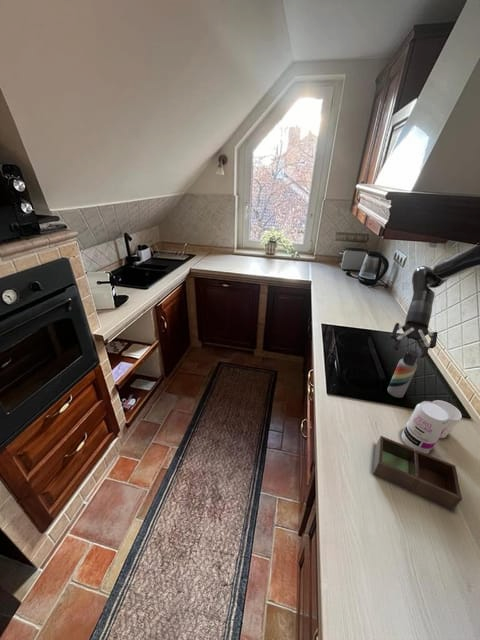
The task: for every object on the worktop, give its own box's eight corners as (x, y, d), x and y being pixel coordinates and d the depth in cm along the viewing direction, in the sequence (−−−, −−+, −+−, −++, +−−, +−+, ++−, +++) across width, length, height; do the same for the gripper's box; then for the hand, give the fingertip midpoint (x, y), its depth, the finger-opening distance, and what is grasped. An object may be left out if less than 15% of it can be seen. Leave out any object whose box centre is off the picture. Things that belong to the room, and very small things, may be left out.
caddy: (446, 477, 71) (455, 465, 69) (451, 511, 64) (462, 499, 61) (375, 447, 79) (380, 435, 76) (372, 474, 72) (378, 462, 69)
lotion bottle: (390, 386, 103) (407, 345, 93) (405, 394, 99) (425, 353, 89) (384, 392, 100) (401, 351, 90) (399, 401, 96) (419, 359, 86)
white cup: (443, 445, 80) (457, 424, 75) (416, 428, 85) (427, 408, 80) (451, 432, 85) (464, 411, 80) (424, 416, 90) (436, 396, 85)
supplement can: (429, 438, 82) (449, 406, 75) (431, 460, 76) (453, 427, 68) (401, 427, 86) (417, 395, 78) (400, 446, 79) (418, 414, 72)
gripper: (400, 306, 98) (390, 345, 95) (444, 315, 92) (435, 357, 89) (396, 313, 105) (386, 349, 101) (437, 322, 99) (428, 361, 96)
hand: (409, 353), depth 95 cm, fingers open, 8 cm apart
